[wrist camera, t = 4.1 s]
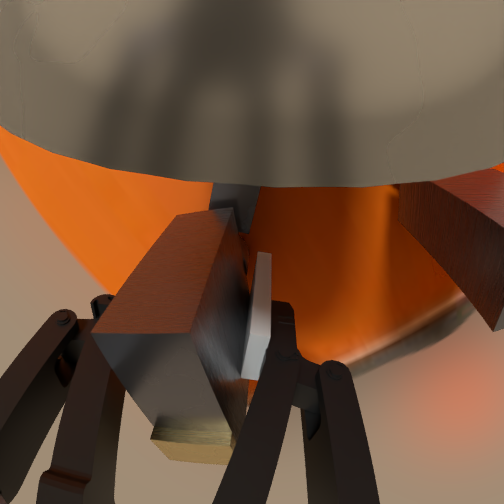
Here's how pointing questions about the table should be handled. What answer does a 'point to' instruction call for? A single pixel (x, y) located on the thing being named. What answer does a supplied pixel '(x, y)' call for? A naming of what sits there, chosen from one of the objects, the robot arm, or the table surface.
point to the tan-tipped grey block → (185, 336)
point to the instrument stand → (259, 89)
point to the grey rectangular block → (463, 233)
